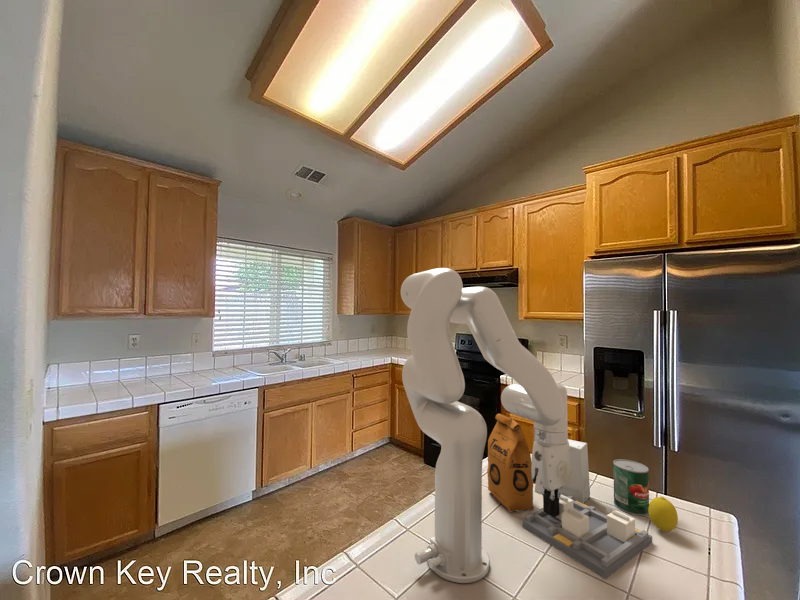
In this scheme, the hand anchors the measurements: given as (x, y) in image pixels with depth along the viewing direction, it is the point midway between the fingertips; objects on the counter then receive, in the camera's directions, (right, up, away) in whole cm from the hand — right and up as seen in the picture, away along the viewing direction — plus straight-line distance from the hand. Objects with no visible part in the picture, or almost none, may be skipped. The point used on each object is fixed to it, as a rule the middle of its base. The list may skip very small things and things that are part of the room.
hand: (551, 513), depth 82 cm
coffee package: (-6, -4, +12) cm, 14 cm away
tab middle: (+3, -2, -5) cm, 6 cm away
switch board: (+7, -3, -3) cm, 8 cm away
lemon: (+26, -4, -1) cm, 26 cm away
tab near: (+13, -2, -5) cm, 14 cm away
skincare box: (+12, -4, +15) cm, 20 cm away
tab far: (+3, -2, +2) cm, 4 cm away
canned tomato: (+25, -4, +9) cm, 27 cm away
